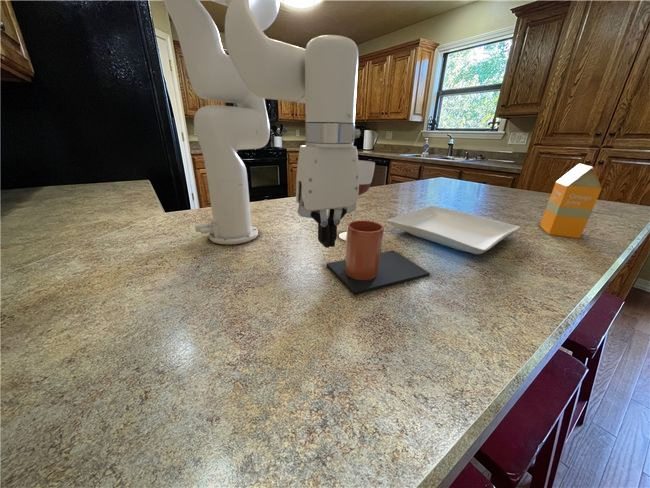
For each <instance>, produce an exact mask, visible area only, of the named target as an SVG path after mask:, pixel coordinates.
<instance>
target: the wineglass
mask: <svg viewBox="0 0 650 488" xmlns="http://www.w3.org/2000/svg"><path fill="white" fill-rule="evenodd" d="M358 163H359V194H358V197H360V196H361V195H364V194H366V193H367V192H368V191H369V189H370V188H371V185H372V181H373V178H374V173H375V167H376V162H375V161H371V160H362V159H361V160H360V159H358ZM351 213H352V214H351V222H352V221H356V210H355V211H352V212H351ZM338 237H339V239H341V240H343V241H346V238H347V231H343V232H341V233H339V234H338Z"/></svg>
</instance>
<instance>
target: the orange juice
mask: <svg viewBox="0 0 650 488" xmlns="http://www.w3.org/2000/svg"><path fill="white" fill-rule="evenodd" d="M602 190H603V187H602V185H601V182H600V180H599V177H598V176H597V173H596V171H595V168H594V166H593V165H589V164H584V163H580V162H579V163H578V164H576V165H575V166H574V167H573V168H571V169H570V170H569V171H567V172H566V173H565V174H564V175H562V176H561V177H560V178H559V179H557V180H556V181H555V183H554V186H553V188H552V191H551V194H550V197H549V199H548V202H547V204H546V207H545V210H544V213H543V216H542V217H541V221H540V224H539V226H540V227H541V229H542V230H544V231H545V232H546V233H547V235H549V236H550V235H551V236H558V237H566V238H574V239H581V237H582V234H583V232H584V230H585V228H586V225H587V224H588V222H589V219H590V217H591V215H592V212H593V210H594V207H595V205H596V202H597V201H598V198H599V196H600V194H601V192H602Z"/></svg>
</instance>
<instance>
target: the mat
mask: <svg viewBox="0 0 650 488" xmlns="http://www.w3.org/2000/svg"><path fill="white" fill-rule="evenodd" d="M326 267H327V268H328V269H329V270H330V271H331V272H332V273H333V274H334V275H335V276H336V277H337V278H338V279H339V280H340V281H341V282H342V283H343V284H344V285H345V286H346V288H348V290H350V292H352V294H353V295H358V294H362V293H366V292H370V291H375V290H378V289H383V288H385V287H386V288H387V287H390V286H395V285H398V284H402V283H406V282H410V281H413V280H417V279H421V278H425V277H429V276H430V274H431V273H430V272H429V271H427V270H426V269H424V268H422V267H421V266H420V265H417V264H416V263H414V262H413V261H412V260H409V259H408V258H406V256H405V257H404V256H403V255H402V254H400V253H398V252H397V251H395V250H389V251H388V250H387V251H384V252H381V255H380V263H379V271H378V275H377V277H375V278H373V279H370V280H357V279H354V278H351V277H349V276H348V275H347V274H346V273H345V259H342V260H338V261H337V260H336V261H332V262H328V263H326Z"/></svg>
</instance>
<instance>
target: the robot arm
mask: <svg viewBox="0 0 650 488" xmlns="http://www.w3.org/2000/svg"><path fill="white" fill-rule="evenodd" d="M209 1H211V2H213V3H217V4H219V5H221V6H225V7H227V8H226V13H225V18H224V38H225V45H226V50H227V53H228V54H227V53H226V52H225V51H224V48H223V44H222V41H221V35H220V32H219V28H218V26H217V25H216V23H215V21H214V19H213V17H212V16H211V14H210V13H209V11H208V10H207V9H206V8H205V6H204V5H203V4H202V2H201V1H200V0H162V2H163V4H164V6H165V9H166V10H167V13H168V15H169V17H170V20H171V21H172V24H173V26H174V28H175V31H176V34H177V37H178V42H179V46H180V49H181V54H182V57H183V61H184V65H185V69H186V72H187V76H188V80H189V83H190V86H191V88H192V91H193V92H194V94H195V95H196V96H197V97H198V98H200V99H202V100H204V101H211V102H218V103H228V104H237V106H234V105H233V106H232V105H220V104H219V105H218V104H209V105H204V106H201V107H200V108H199V109H198V110H196V112H195V113H194V115H193V127H194V131H195V135H196V138H197V141H198V144H199V146H200V150H201V154H202V158H203V163H204V164H203V165H204V168H205V175H206V181H207V182H206V183H207V188H208V193H209V194H208V195H209V201H210V208H211V214H212V218H211V221H210V222H207V223H205V224H202V223H201V224H194V229H195V233H200V234H201V235H204V234H205V235H206V234H208V238H209V240H210V241H211V242H213V243H215V244H219V245H238V244H245V243H248V242H251V241H253V240H254V239H256V238H257V237H258V236H259V230H258V228H257V227H255V226H253V224H252V213H251V203H250V192H249V181H248V172H247V167H246V164H245V163H244V161H243V159H242V158H241V157H240V156H239V155H238V152H237V151H239V150H240V151H241V150H257V149H258V150H259V149H262V148H264V147H266V145H268V143H269V140H270V137H271V126H270V119H269V115H268V110H267V106H266V105H267V104H266V99H267V100H271V101H273V100H276V101H281V102H289V103H290V102H291V103H298V104H304V110H305V111H304V117H305V118H304V121H305V124H304V125H305V127H304V128H305V145H304V144H302V145H300V146H299V151H298V157H297V165H296V177H295V201H296V203H297V204H298V207H297V214H298V215H299V216H300V217H301V218H307V219H308V218H309V219H313V220H314V221H315V222H316V223H317V239H318V242H319V243H320V244H321V245H322V246H323V247H324V248H325V249H329V248H330V247H331V248H334V247H335V246H336V241H337V239H338V237H337V236H338V235H337V233H338V226H339V225H340V223H341V220H342V219H343V218H344V217H345V216H346V214H350V213H352V212H353V211H355V212H356V210H357V203H358V200H359V196H358V194H359V163H358V160H359V156H358V155H359V153H358V149H357V146H356V145H354V143H355V139H357V138H358V139H359V138H360V137H361V129H360V128H356V124H355V122H356V108H357V107H356V104H357V87H358V73H359V72H358V69H359V48H358V46H357V44H356V42H355V41H354V40H353V39H352V38H349V37H347V36H343V35H337V34H325V35H324V34H323V35H319V36H316V37H313V38H312V39H311V40H309V41H308V42H307V44H306V46H305V48H303V47H299V46H297V45H293V44H290V43H287V42H284V41H281V40H277V39H273V38H269V37H268V36H267V35H266V34H265V32H264V31H266V30H267V29H269V27H271V26H272V24H273V23H274V22H275V20H276V19H277V16H278V14H279V10H280V4H281V1H280V0H209ZM327 210H328V212H327Z"/></svg>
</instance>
